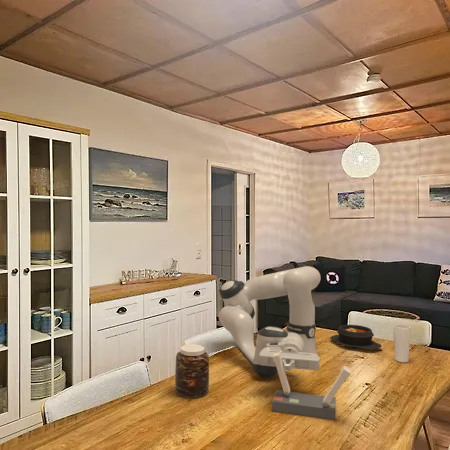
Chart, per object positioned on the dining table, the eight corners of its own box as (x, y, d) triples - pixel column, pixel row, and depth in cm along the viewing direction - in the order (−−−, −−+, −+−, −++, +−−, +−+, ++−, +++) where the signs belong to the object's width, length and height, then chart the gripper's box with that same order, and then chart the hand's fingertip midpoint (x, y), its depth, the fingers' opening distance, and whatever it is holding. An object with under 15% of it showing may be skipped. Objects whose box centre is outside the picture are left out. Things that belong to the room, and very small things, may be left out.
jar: (213, 387, 142) (214, 345, 142) (201, 401, 131) (201, 355, 131) (183, 382, 146) (184, 341, 146) (168, 395, 135) (169, 350, 135)
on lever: (321, 399, 125) (343, 365, 123) (327, 403, 124) (350, 369, 122) (320, 404, 121) (344, 369, 119) (327, 409, 121) (350, 373, 119)
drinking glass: (412, 364, 169) (412, 328, 169) (394, 362, 171) (395, 327, 171) (408, 359, 176) (408, 324, 176) (391, 357, 177) (392, 323, 177)
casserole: (389, 348, 191) (389, 331, 191) (367, 356, 179) (367, 337, 179) (344, 336, 210) (344, 320, 210) (321, 342, 199) (322, 325, 199)
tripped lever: (285, 392, 132) (273, 353, 133) (292, 391, 131) (280, 351, 132) (284, 397, 128) (272, 356, 129) (290, 395, 128) (278, 355, 129)
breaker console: (276, 399, 134) (276, 389, 134) (335, 406, 129) (335, 397, 129) (272, 411, 125) (272, 401, 125) (335, 420, 120) (335, 409, 120)
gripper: (320, 365, 140) (320, 380, 127) (262, 360, 145) (256, 374, 132) (320, 347, 140) (320, 361, 127) (262, 343, 145) (256, 355, 132)
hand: (287, 367), depth 129 cm, fingers closed
